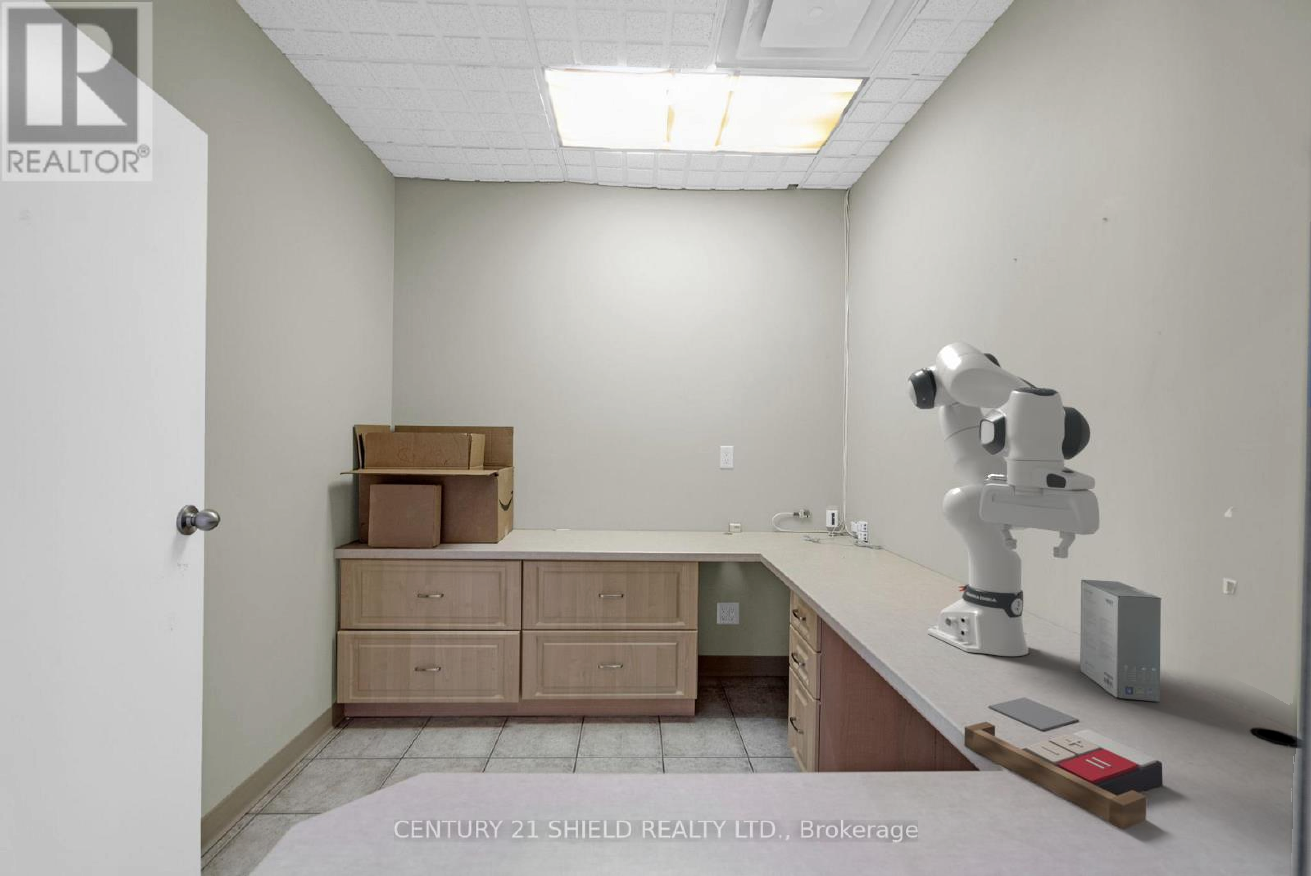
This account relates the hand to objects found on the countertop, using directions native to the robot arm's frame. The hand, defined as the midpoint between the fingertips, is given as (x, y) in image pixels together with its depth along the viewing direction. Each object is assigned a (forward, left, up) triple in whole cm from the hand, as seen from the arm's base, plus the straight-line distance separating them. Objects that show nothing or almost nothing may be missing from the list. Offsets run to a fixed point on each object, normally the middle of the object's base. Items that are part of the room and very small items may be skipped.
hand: (1034, 552), depth 111 cm
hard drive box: (-2, +29, -29) cm, 41 cm away
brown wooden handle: (+15, -19, -29) cm, 38 cm away
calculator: (+17, -12, -30) cm, 36 cm away
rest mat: (0, 0, -29) cm, 29 cm away
